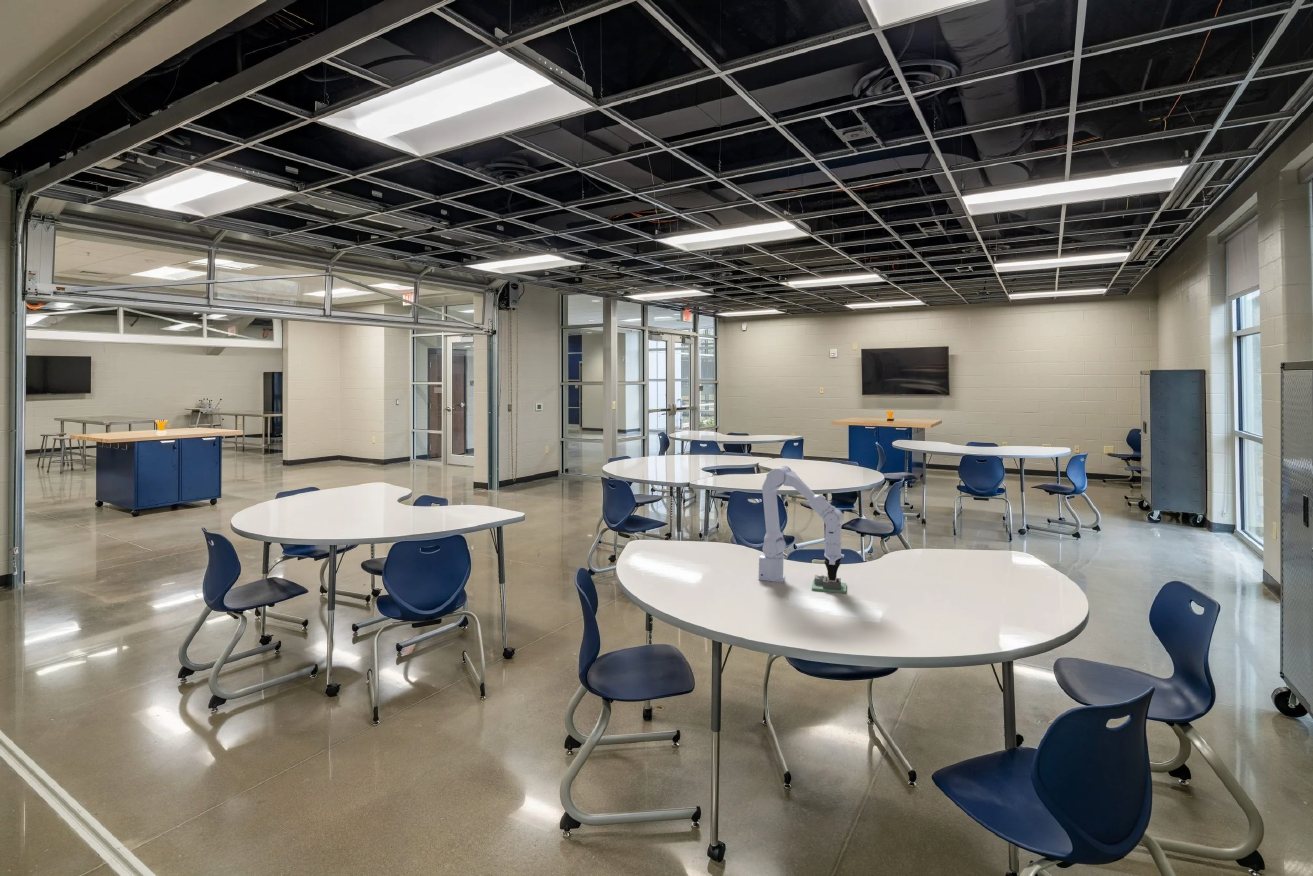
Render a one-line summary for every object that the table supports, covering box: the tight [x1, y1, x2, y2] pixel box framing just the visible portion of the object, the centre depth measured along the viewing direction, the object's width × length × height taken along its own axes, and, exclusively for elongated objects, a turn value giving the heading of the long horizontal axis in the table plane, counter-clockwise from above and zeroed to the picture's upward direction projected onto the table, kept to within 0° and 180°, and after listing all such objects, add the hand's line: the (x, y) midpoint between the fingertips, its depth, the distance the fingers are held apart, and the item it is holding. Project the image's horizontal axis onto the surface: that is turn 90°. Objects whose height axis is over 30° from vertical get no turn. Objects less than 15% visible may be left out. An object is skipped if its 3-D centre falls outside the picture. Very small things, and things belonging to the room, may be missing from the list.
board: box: [811, 574, 847, 595], centre depth 229 cm, size 12×10×4 cm
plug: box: [826, 572, 838, 582], centre depth 228 cm, size 3×3×7 cm
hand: (832, 578), depth 228 cm, fingers closed on plug, 3 cm apart
